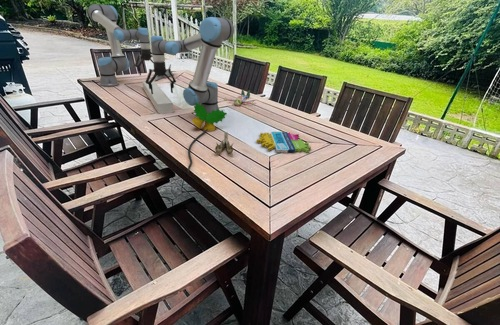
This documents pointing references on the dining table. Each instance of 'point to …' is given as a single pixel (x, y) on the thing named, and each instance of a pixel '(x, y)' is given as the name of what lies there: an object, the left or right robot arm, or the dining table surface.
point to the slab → (158, 98)
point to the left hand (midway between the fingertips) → (148, 75)
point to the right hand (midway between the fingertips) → (162, 93)
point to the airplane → (164, 75)
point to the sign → (283, 142)
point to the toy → (241, 99)
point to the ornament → (207, 117)
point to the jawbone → (224, 145)
